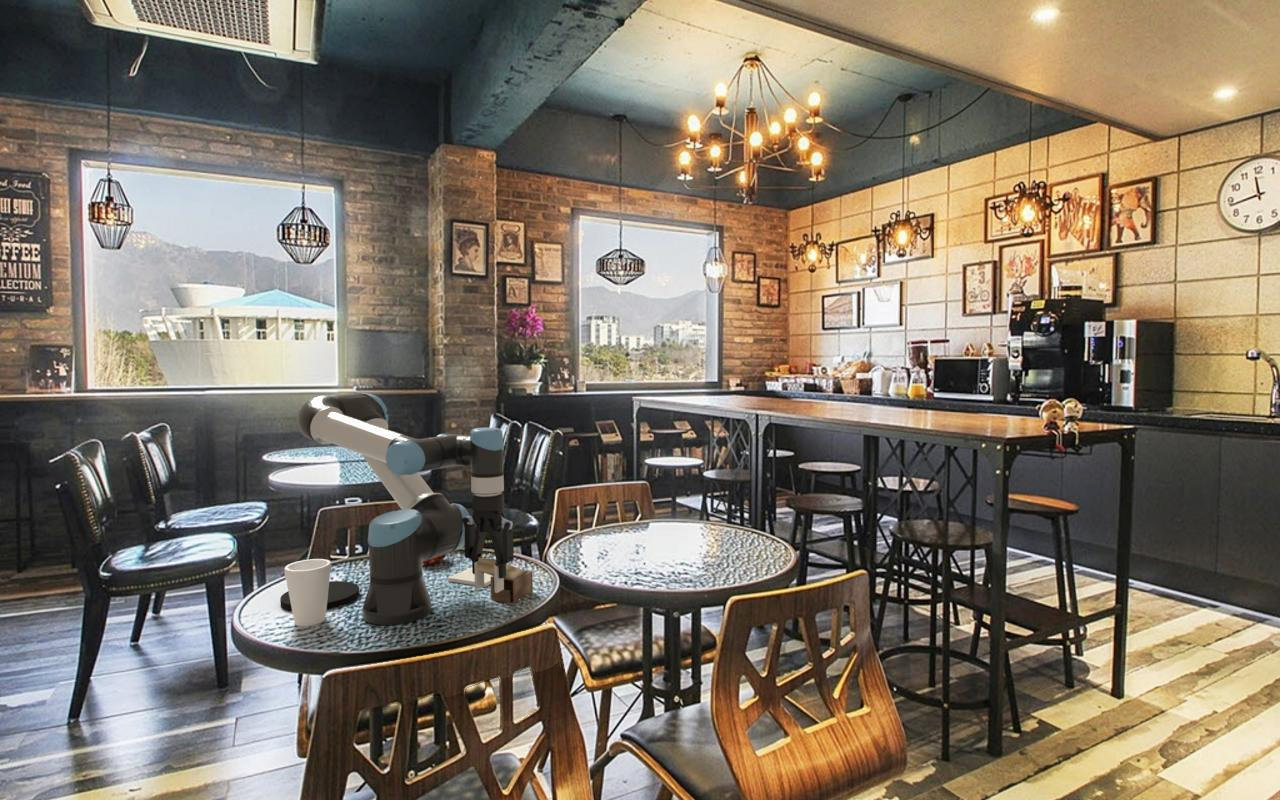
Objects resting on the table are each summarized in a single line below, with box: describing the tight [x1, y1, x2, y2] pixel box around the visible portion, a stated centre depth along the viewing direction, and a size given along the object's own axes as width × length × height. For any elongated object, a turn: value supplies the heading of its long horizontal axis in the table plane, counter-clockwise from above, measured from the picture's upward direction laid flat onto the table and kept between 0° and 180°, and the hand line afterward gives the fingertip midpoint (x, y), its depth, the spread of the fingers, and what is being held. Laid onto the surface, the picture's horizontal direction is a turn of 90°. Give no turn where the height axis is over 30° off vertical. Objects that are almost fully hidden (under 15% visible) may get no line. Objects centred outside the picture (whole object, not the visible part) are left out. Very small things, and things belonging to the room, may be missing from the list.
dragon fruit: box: [422, 554, 448, 567], centre depth 199 cm, size 8×8×12 cm
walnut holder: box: [490, 569, 534, 604], centre depth 170 cm, size 9×7×6 cm
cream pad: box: [447, 564, 521, 588], centre depth 187 cm, size 16×12×1 cm
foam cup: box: [284, 558, 332, 627], centre depth 155 cm, size 10×9×13 cm
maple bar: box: [476, 557, 527, 582], centre depth 167 cm, size 14×5×3 cm, turn 156°
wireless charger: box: [279, 580, 360, 613], centre depth 170 cm, size 18×18×2 cm
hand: (489, 589), depth 162 cm, fingers closed on maple bar, 5 cm apart
